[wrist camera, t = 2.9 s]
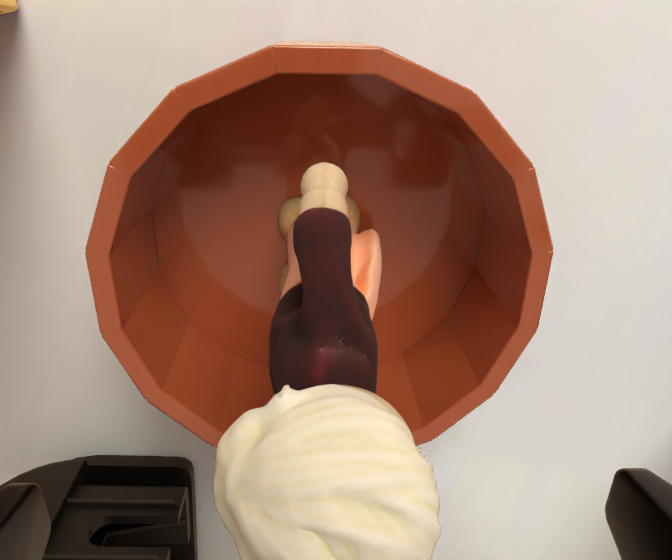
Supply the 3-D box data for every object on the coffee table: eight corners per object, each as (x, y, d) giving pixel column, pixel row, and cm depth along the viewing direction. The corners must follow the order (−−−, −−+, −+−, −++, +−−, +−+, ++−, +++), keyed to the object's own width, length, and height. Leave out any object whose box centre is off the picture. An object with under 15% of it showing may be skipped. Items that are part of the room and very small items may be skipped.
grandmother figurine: (385, 328, 20) (496, 737, 8) (282, 341, 20) (251, 769, 8) (365, 114, 17) (502, 304, 5) (242, 130, 17) (102, 356, 5)
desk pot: (522, 45, 16) (595, 50, 12) (472, 379, 21) (511, 461, 17) (111, 37, 16) (42, 40, 12) (161, 384, 21) (126, 470, 17)
